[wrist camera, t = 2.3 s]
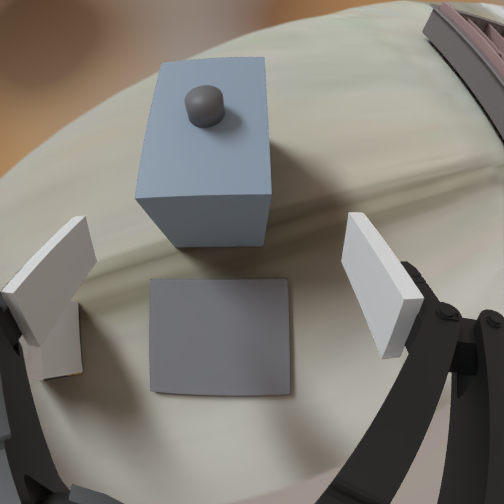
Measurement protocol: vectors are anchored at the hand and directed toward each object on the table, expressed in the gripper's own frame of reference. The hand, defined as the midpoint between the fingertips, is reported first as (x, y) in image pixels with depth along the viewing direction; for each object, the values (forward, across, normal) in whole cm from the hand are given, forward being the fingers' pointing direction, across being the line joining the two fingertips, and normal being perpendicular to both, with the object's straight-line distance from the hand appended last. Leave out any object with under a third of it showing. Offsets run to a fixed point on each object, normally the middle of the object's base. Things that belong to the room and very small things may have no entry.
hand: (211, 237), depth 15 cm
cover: (+16, -1, -3) cm, 16 cm away
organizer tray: (+32, +54, +14) cm, 64 cm away
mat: (+6, -1, -13) cm, 14 cm away
